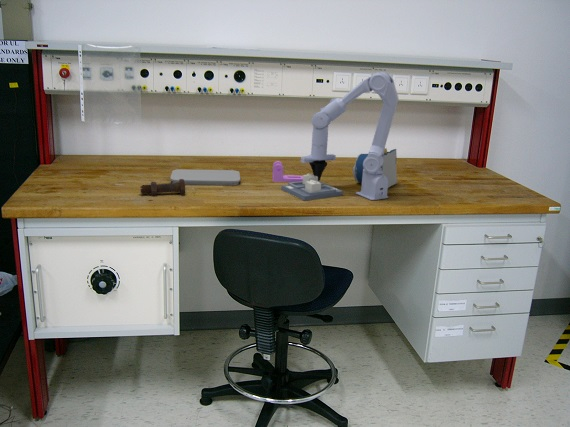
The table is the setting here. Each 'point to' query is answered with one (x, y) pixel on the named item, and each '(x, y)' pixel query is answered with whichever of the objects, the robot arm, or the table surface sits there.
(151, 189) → the bolt
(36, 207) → the table surface
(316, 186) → the near tab
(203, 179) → the tablet
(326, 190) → the switch bank
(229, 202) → the table surface
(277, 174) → the bracket
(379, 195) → the robot arm
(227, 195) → the table surface
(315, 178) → the far tab
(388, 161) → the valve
